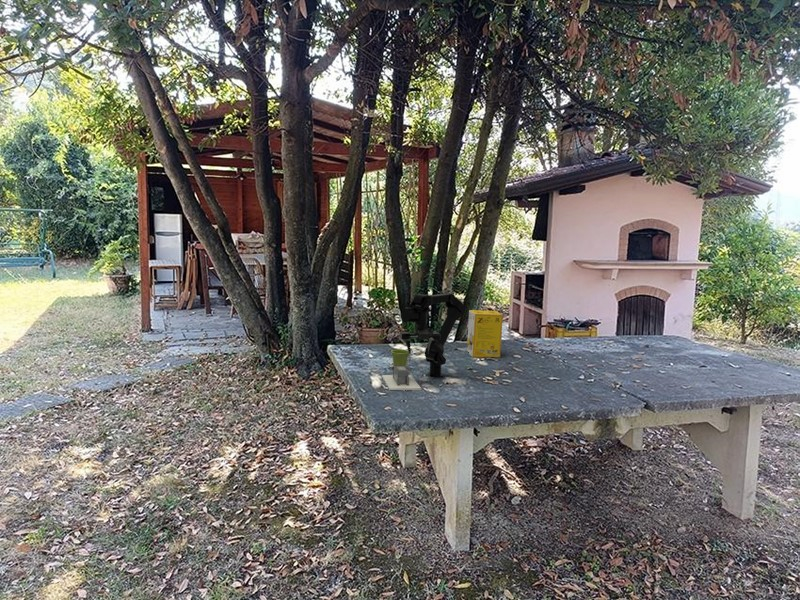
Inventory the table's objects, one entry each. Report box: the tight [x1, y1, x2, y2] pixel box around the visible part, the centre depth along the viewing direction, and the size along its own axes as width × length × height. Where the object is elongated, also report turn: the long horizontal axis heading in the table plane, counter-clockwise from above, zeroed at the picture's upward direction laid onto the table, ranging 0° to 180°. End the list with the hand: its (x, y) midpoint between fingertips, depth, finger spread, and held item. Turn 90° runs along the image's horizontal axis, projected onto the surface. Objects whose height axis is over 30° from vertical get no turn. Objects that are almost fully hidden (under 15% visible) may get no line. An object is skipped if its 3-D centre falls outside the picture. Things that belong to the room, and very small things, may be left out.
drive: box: [393, 365, 410, 384], centre depth 241 cm, size 9×5×6 cm, turn 11°
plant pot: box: [390, 349, 410, 368], centre depth 269 cm, size 9×9×9 cm
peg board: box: [381, 369, 422, 392], centre depth 241 cm, size 22×14×4 cm, turn 11°
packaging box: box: [466, 309, 504, 358], centre depth 310 cm, size 16×16×25 cm
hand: (419, 353), depth 250 cm, fingers open, 9 cm apart
